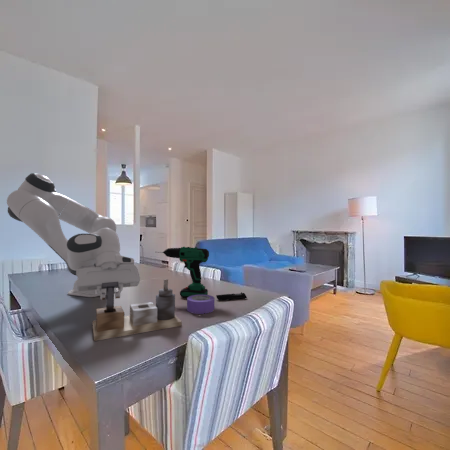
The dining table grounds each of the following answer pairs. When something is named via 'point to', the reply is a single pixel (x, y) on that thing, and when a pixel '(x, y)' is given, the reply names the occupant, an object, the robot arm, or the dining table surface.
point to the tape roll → (200, 304)
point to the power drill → (191, 267)
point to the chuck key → (109, 295)
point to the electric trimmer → (231, 296)
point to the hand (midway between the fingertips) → (110, 298)
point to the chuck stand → (137, 317)
